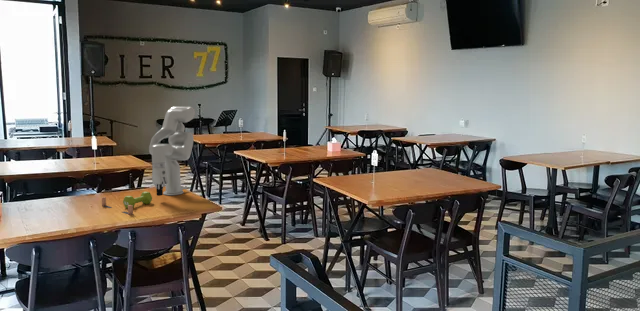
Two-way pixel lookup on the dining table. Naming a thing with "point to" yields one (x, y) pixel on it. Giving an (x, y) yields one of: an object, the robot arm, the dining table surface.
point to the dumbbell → (137, 199)
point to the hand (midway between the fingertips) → (159, 195)
